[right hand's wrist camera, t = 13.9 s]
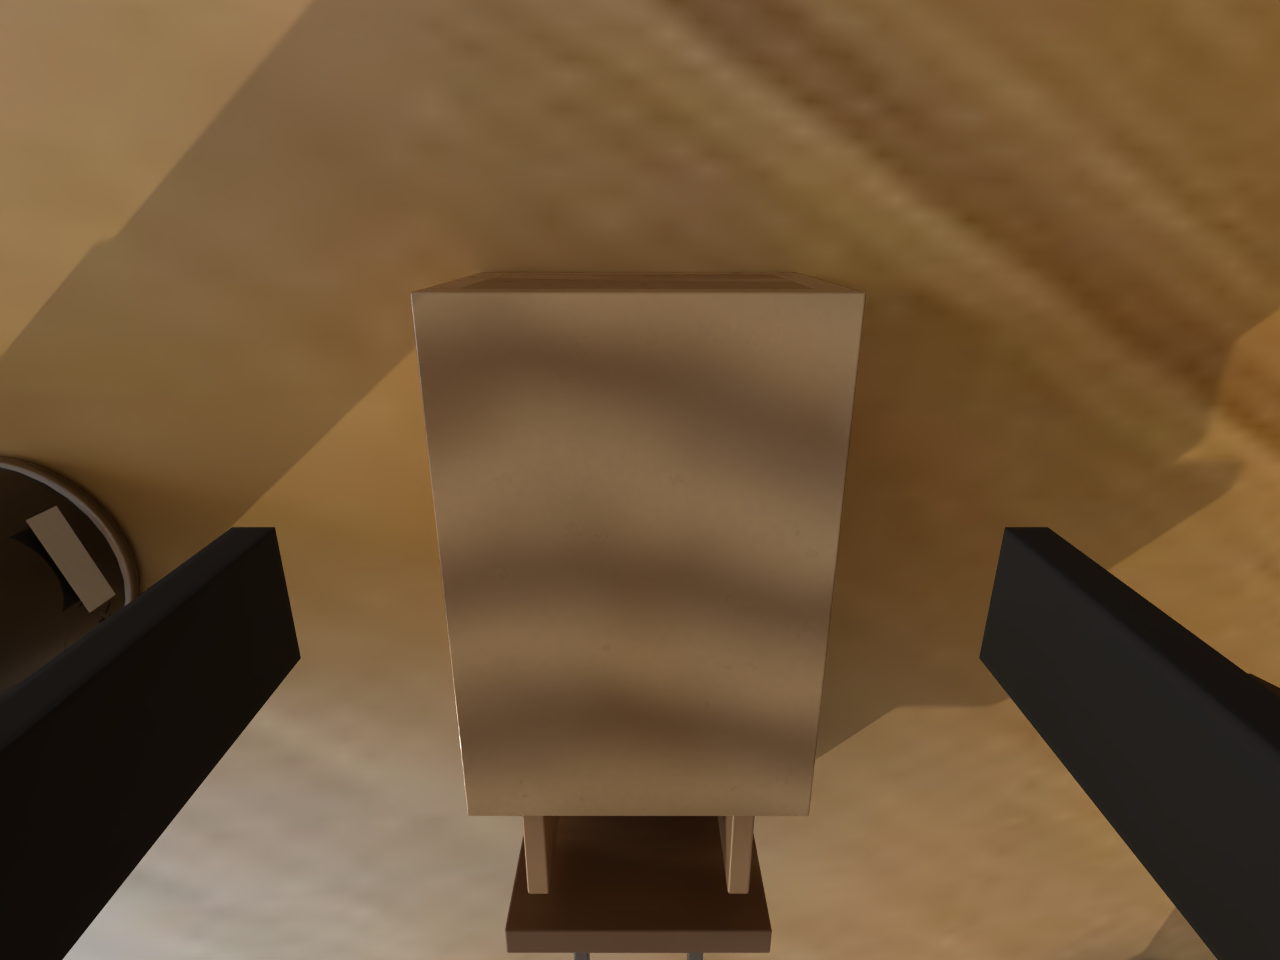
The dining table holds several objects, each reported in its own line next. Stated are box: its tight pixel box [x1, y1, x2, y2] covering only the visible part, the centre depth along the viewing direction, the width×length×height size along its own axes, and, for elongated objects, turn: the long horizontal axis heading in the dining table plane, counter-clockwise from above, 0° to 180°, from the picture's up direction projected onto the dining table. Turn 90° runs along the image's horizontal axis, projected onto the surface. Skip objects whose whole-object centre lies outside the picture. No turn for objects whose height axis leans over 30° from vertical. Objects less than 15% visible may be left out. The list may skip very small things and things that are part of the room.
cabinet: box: [410, 272, 866, 816], centre depth 24 cm, size 17×11×8 cm
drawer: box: [505, 816, 772, 960], centre depth 28 cm, size 21×10×6 cm, turn 0°
